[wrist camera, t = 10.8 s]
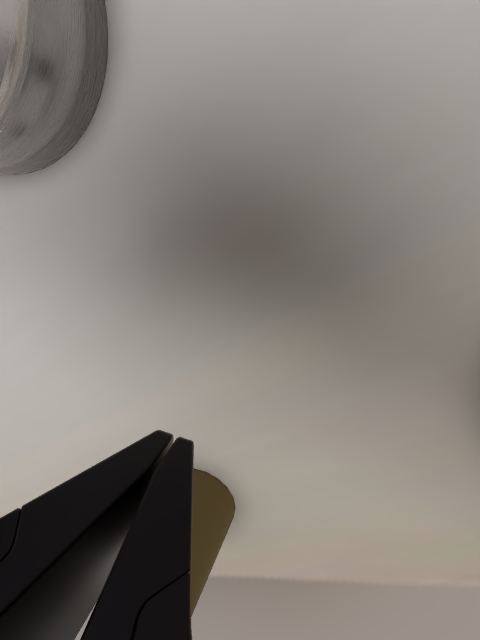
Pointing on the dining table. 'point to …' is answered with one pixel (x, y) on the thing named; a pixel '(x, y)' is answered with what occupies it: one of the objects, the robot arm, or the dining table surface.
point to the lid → (14, 51)
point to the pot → (56, 85)
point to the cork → (207, 527)
